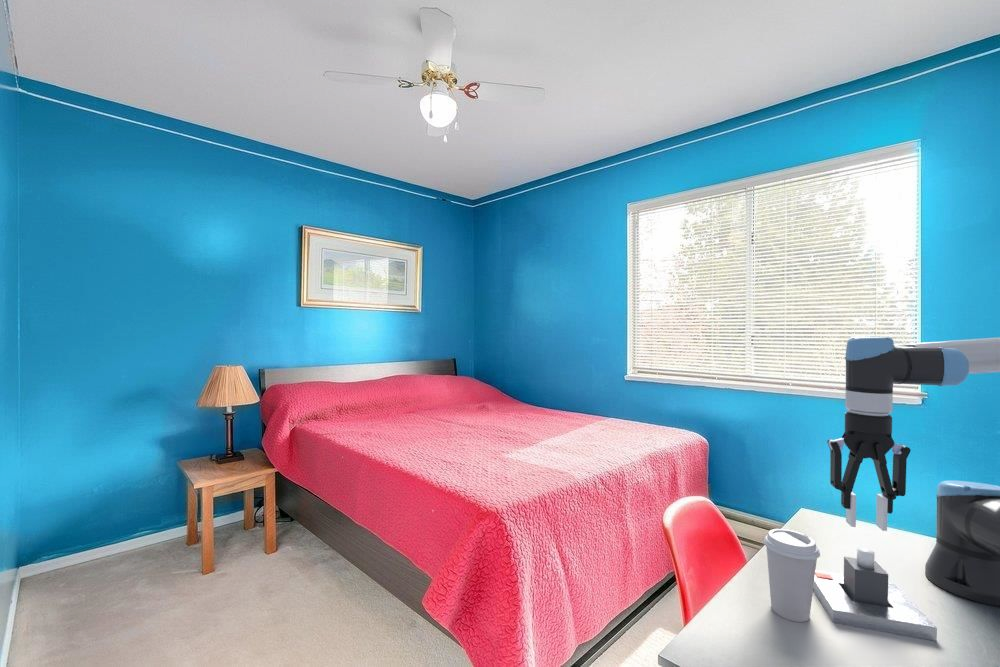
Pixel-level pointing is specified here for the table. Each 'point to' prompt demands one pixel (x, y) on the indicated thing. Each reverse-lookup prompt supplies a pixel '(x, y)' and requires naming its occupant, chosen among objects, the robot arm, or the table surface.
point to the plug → (865, 579)
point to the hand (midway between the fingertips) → (866, 525)
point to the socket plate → (872, 609)
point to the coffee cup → (791, 572)
